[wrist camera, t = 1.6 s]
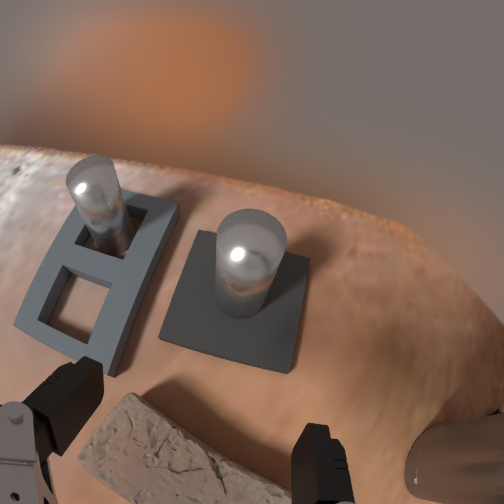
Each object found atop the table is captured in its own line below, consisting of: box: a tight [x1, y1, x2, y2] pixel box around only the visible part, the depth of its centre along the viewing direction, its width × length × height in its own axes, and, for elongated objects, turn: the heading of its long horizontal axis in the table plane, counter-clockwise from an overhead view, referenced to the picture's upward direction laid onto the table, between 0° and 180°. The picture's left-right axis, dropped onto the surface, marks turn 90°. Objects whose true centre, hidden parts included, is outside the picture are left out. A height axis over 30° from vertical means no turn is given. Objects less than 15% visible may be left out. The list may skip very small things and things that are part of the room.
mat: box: [158, 230, 310, 374], centre depth 29 cm, size 12×12×1 cm
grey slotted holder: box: [13, 190, 180, 377], centre depth 28 cm, size 12×19×2 cm, turn 167°
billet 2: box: [215, 209, 287, 319], centre depth 24 cm, size 5×5×10 cm
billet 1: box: [66, 155, 135, 255], centre depth 27 cm, size 5×5×10 cm
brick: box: [78, 393, 291, 504], centre depth 18 cm, size 17×8×5 cm, turn 57°
